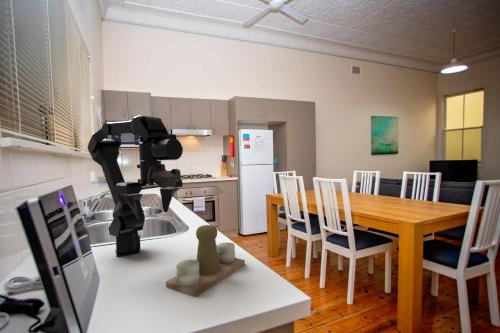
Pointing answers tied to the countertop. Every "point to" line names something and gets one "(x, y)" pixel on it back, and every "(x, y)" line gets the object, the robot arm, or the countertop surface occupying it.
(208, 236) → the olive pepper mill
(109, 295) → the countertop surface
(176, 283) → the spice board
